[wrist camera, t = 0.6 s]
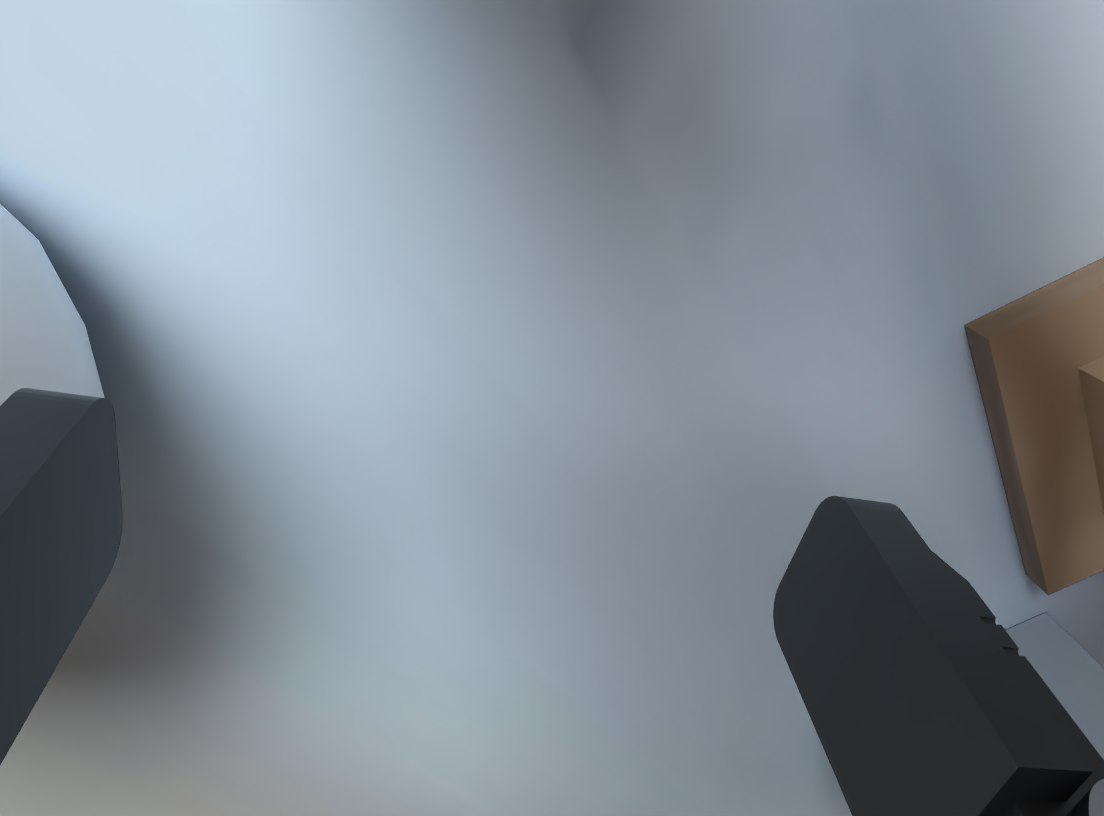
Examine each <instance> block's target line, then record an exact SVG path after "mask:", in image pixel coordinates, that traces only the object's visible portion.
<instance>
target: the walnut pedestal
mask: <svg viewBox="0 0 1104 816" xmlns="http://www.w3.org/2000/svg"><path fill="white" fill-rule="evenodd" d="M965 329H966V333H967V338H968V342H969V346H970V350H971V354H972V358H973V362H974V366H975V370H976V374H977V378H978V382H979V386H980V390H981V394H982V398H983V402H984V406H985V410H986V414H987V418H988V423H989V427H990V431H991V435H992V439H993V443H994V447H995V451H996V455H997V459H998V463H999V467H1000V471H1001V475H1002V479H1003V483H1004V487H1005V491H1006V495H1007V499H1008V503H1009V508H1010V512H1011V516H1012V520H1013V524H1014V528H1015V532H1016V536H1017V540H1018V544H1019V548H1020V552H1021V556H1022V560H1023V564H1024V568H1025V572H1026V575H1027V576H1029V577H1030V578H1031V579H1032V580H1033V581H1034V582H1035V583H1036V584H1037V585H1038V586H1039V587H1040V588H1041V589H1042V590H1043V591H1044V592H1045V593H1046V594H1047V595H1050V594H1052V593H1054V592H1057V591H1059V590H1061V589H1063V588H1066V587H1068V586H1070V585H1072V584H1075V583H1077V582H1079V581H1081V580H1084V579H1086V578H1088V577H1090V576H1093V575H1095V574H1097V573H1099V572H1102V571H1104V258H1102V259H1100V260H1098V261H1096V262H1094V263H1092V264H1090V265H1088V266H1086V267H1083V268H1081V269H1079V270H1077V271H1075V272H1073V273H1071V274H1069V275H1067V276H1065V277H1063V278H1061V279H1059V280H1057V281H1055V282H1053V283H1051V284H1049V285H1046V286H1044V287H1042V288H1040V289H1038V290H1036V291H1034V292H1032V293H1030V294H1028V295H1026V296H1024V297H1022V298H1020V299H1018V300H1016V301H1014V302H1011V303H1009V304H1007V305H1005V306H1003V307H1001V308H999V309H997V310H995V311H993V312H991V313H989V314H987V315H985V316H983V317H981V318H979V319H976V320H974V321H972V322H970V323H968V324H966V325H965Z"/></svg>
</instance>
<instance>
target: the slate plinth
mask: <svg viewBox="0 0 1104 816" xmlns="http://www.w3.org/2000/svg"><path fill="white" fill-rule="evenodd" d="M1005 631H1006V632H1007V633H1008V635H1009V636H1010V637H1011V639H1012V640H1013V641H1014V642H1015V644H1016V645H1017V646H1018V648H1019V649H1018V654H1019V656H1025V657H1026V658H1027V660H1028V661H1029V662H1030V664H1031V665H1032V666H1033V667H1034V669H1035V670H1036V671H1037V673H1038V674H1039V675H1040V677H1041V678H1042V679H1043V681H1044V682H1045V683H1046V685H1047V686H1048V687H1049V689H1050V690H1051V691H1052V693H1053V694H1054V695H1055V696H1056V698H1057V699H1058V700H1059V702H1060V703H1061V704H1062V706H1063V707H1064V708H1065V710H1066V711H1067V712H1068V714H1069V715H1070V716H1071V718H1072V719H1073V720H1074V721H1075V723H1076V724H1077V725H1078V727H1079V728H1080V729H1081V731H1082V732H1083V733H1084V735H1085V736H1086V737H1087V739H1088V740H1089V741H1090V743H1091V744H1092V745H1093V747H1094V748H1095V749H1096V750H1097V752H1098V753H1099V754H1100V756H1101V757H1102V758H1103V760H1104V668H1103V667H1102V666H1101V665H1100V664H1099V663H1098V662H1097V661H1096V660H1095V659H1094V658H1093V657H1092V656H1091V655H1090V654H1088V653H1087V652H1086V651H1085V650H1084V649H1083V648H1082V647H1081V646H1080V645H1079V644H1078V643H1077V642H1076V641H1075V640H1074V639H1073V638H1072V637H1071V636H1070V635H1069V634H1068V633H1067V632H1066V631H1065V630H1064V629H1063V628H1062V627H1061V626H1060V625H1059V624H1058V623H1057V622H1056V621H1055V620H1054V619H1053V618H1052V617H1051V616H1050V615H1049V614H1048V613H1047V612H1045V613H1043V614H1041V615H1039V616H1036V617H1034V618H1032V619H1030V620H1027V621H1025V622H1023V623H1021V624H1018V625H1016V626H1014V627H1011V628H1009V629H1007V630H1005Z"/></svg>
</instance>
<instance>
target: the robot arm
mask: <svg viewBox="0 0 1104 816" xmlns="http://www.w3.org/2000/svg"><path fill="white" fill-rule="evenodd" d="M122 519H123V518H122V502H121V489H120V476H119V463H118V450H117V437H116V424H115V415H114V411H113V408H112V405H111V403H110V402H109V401H108V400H107V399H106V398H99V397H92V396H84V395H77V394H69V393H62V392H54V391H46V390H39V389H31V388H21V389H19V390H17V391H15V392H14V393H13V394H12V395H11V396H10V397H9V398H8V399H7V400H6V401H5V402H4V403H3V404H2V405H1V406H0V765H1V763H2V761H3V759H4V758H5V756H6V754H7V752H8V751H9V749H10V747H11V745H12V744H13V742H14V740H15V738H16V737H17V735H18V733H19V731H20V730H21V728H22V726H23V724H24V723H25V721H26V719H27V717H28V716H29V714H30V712H31V710H32V709H33V707H34V705H35V703H36V702H37V700H38V698H39V696H40V695H41V693H42V691H43V689H44V688H45V686H46V684H47V682H48V681H49V679H50V677H51V675H52V674H53V672H54V670H55V668H56V667H57V665H58V663H59V661H60V660H61V658H62V656H63V654H64V653H65V651H66V649H67V647H68V646H69V644H70V642H71V640H72V638H73V637H74V635H75V633H76V631H77V630H78V628H79V626H80V624H81V623H82V621H83V619H84V617H85V616H86V614H87V612H88V610H89V609H90V607H91V605H92V603H93V602H94V600H95V598H96V596H97V595H98V593H99V591H100V589H101V588H102V586H103V584H104V582H105V581H106V579H107V577H108V575H109V573H110V571H111V569H112V566H113V564H114V561H115V558H116V555H117V552H118V548H119V544H120V538H121V532H122ZM773 619H774V628H775V633H776V637H777V640H778V642H779V645H780V647H781V649H782V652H783V654H784V656H785V659H786V661H787V663H788V666H789V668H790V671H791V673H792V675H793V678H794V680H795V682H796V685H797V687H798V689H799V692H800V694H801V696H802V699H803V701H804V703H805V706H806V708H807V710H808V713H809V715H810V717H811V720H812V722H813V724H814V727H815V729H816V731H817V734H818V736H819V738H820V741H821V743H822V745H823V748H824V750H825V752H826V755H827V757H828V759H829V762H830V764H831V767H832V769H833V771H834V774H835V776H836V778H837V781H838V783H839V785H840V788H841V790H842V792H843V795H844V797H845V799H846V802H847V804H848V806H849V809H850V811H851V813H852V816H1104V760H1103V758H1102V757H1101V756H1100V754H1099V753H1098V752H1097V750H1096V749H1095V748H1094V747H1093V745H1092V744H1091V743H1090V741H1089V740H1088V739H1087V737H1086V736H1085V735H1084V733H1083V732H1082V731H1081V729H1080V728H1079V727H1078V725H1077V724H1076V723H1075V721H1074V720H1073V719H1072V718H1071V716H1070V715H1069V714H1068V712H1067V711H1066V710H1065V708H1064V707H1063V706H1062V704H1061V703H1060V702H1059V700H1058V699H1057V698H1056V696H1055V695H1054V694H1053V693H1052V691H1051V690H1050V689H1049V687H1048V686H1047V685H1046V683H1045V682H1044V681H1043V679H1042V678H1041V677H1040V675H1039V674H1038V673H1037V671H1036V670H1035V669H1034V667H1033V666H1032V665H1031V664H1030V662H1029V661H1028V660H1027V658H1026V657H1025V656H1019V654H1018V649H1019V648H1018V646H1017V645H1016V644H1015V642H1014V641H1013V640H1012V639H1011V637H1010V636H1009V635H1008V633H1007V632H1006V631H1005V629H1004V628H1003V627H1002V625H996V623H995V619H996V617H995V616H994V615H993V613H992V612H991V611H990V610H989V608H988V607H987V606H986V604H985V603H984V602H983V600H982V599H981V598H980V596H979V595H978V594H977V592H976V591H975V590H974V588H973V587H972V586H971V585H970V583H969V582H968V581H967V580H966V579H964V578H963V577H962V576H961V575H960V574H958V573H957V572H956V571H955V570H954V569H953V568H951V567H950V566H949V565H948V564H947V563H945V562H944V561H943V560H942V559H941V558H939V557H938V556H937V555H936V554H935V553H934V552H932V551H931V550H930V549H929V547H928V546H927V545H926V543H925V542H924V541H923V539H922V538H921V536H920V535H919V534H918V532H917V531H916V530H915V528H914V527H913V526H912V524H911V523H910V522H909V520H908V519H907V517H906V516H905V515H904V513H903V512H902V511H901V510H900V509H899V508H898V507H897V506H895V505H893V504H891V503H883V502H876V501H868V500H861V499H853V498H845V497H838V496H831V497H828V498H826V499H825V500H824V501H822V502H821V504H820V505H819V506H818V508H817V509H816V511H815V513H814V515H813V517H812V519H811V521H810V523H809V525H808V527H807V529H806V531H805V533H804V535H803V537H802V540H801V542H800V544H799V546H798V548H797V550H796V552H795V554H794V556H793V558H792V560H791V562H790V564H789V566H788V568H787V570H786V572H785V574H784V576H783V578H782V580H781V582H780V584H779V587H778V589H777V592H776V596H775V601H774V609H773Z"/></svg>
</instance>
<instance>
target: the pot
mask: <svg viewBox="0 0 1104 816" xmlns="http://www.w3.org/2000/svg"><path fill="white" fill-rule="evenodd" d="M21 388H31V389H39V390H46V391H54V392H62V393H69V394H77V395H84V396H92V397H99V398H105V397H104V394H103V390H102V386H101V382H100V379H99V375H98V371H97V367H96V364H95V360H94V356H93V352H92V349H91V345H90V341H89V337H88V334H87V330H86V326H85V324H84V322H83V321H82V319H81V317H80V315H79V313H78V311H77V310H76V308H75V306H74V304H73V302H72V300H71V299H70V297H69V295H68V293H67V291H66V289H65V288H64V286H63V284H62V282H61V280H60V278H59V277H58V275H57V273H56V271H55V269H54V267H53V266H52V264H51V262H50V260H49V258H48V256H47V255H46V253H45V251H44V249H43V247H42V245H41V244H40V242H39V240H38V239H37V238H36V237H35V236H34V235H33V234H32V233H31V232H30V231H29V230H27V229H26V228H25V227H24V226H23V225H22V224H21V223H20V222H19V221H18V220H17V219H16V218H15V217H14V216H13V215H12V214H11V213H9V212H8V211H7V210H6V209H5V208H4V207H3V206H2V205H1V204H0V406H1V405H2V404H3V403H4V402H5V401H6V400H7V399H8V398H9V397H10V396H11V395H12V394H13V393H14V392H15V391H17V390H19V389H21Z"/></svg>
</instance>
